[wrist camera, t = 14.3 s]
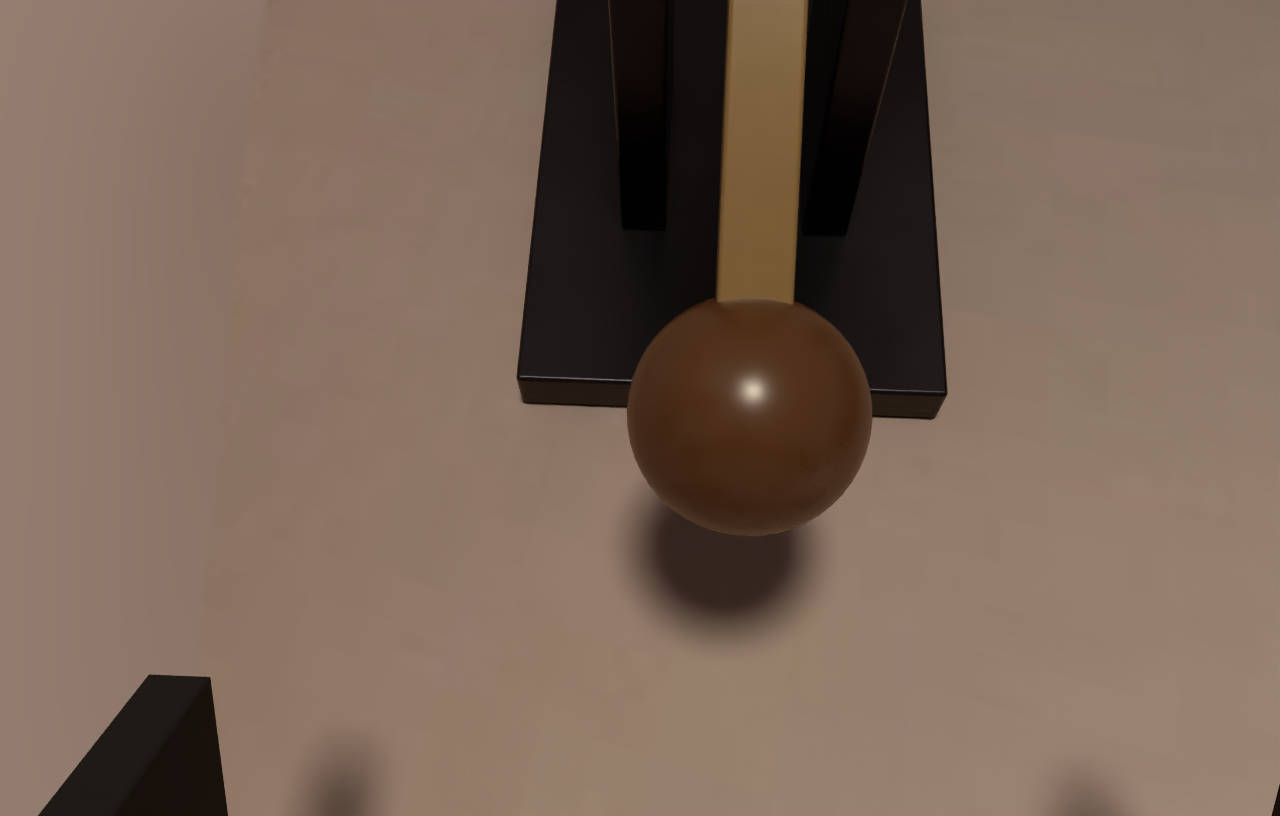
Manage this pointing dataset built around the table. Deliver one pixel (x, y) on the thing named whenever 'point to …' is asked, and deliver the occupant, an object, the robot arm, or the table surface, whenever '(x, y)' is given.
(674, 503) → the switch lever
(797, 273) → the switch bracket
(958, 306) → the table surface
